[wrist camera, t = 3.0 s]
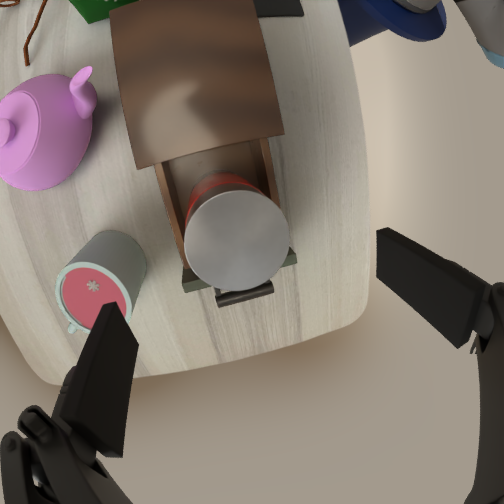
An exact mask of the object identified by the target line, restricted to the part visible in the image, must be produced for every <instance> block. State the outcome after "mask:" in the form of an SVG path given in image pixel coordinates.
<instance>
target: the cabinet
mask: <svg viewBox="0 0 504 504" xmlns="http://www.w3.org/2000/svg"><path fill="white" fill-rule="evenodd" d="M109 15H110V26H111V36H112V44H113V52H114V60H115V66H116V73H117V79H118V85H119V91H120V96H121V101H122V107H123V112H124V116H125V121H126V126H127V130H128V135H129V139H130V143H131V148H132V152H133V156H134V160H135V164H136V167H137V170H139V169H142V168H146V167H149V166H152V165H155V164H158V163H162V162H165V161H168V160H172V159H175V158H179V157H183V156H186V155H190V154H194V153H198V152H202V151H206V150H210V149H214V148H218V147H222V146H227V145H231V144H236V143H241V142H246V141H251V140H256V139H261V138H267V137H272V136H278V135H284V134H285V133H284V128H283V123H282V118H281V113H280V108H279V104H278V99H277V94H276V90H275V85H274V81H273V76H272V72H271V68H270V64H269V59H268V55H267V51H266V47H265V43H264V39H263V35H262V32H261V28H260V24H259V20H258V17H257V13H256V10H255V6H254V3H253V0H140V1H136V2H133V3H130V4H127V5H124V6H121V7H119V8H116V9H113V10H111V11H109Z"/></svg>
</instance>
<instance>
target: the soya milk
mask: <svg viewBox="0 0 504 504" xmlns="http://www.w3.org/2000/svg"><path fill="white" fill-rule="evenodd" d="M69 1H70V2H71V3H72V4H73V5H74V7H75V8H76V9H77V10H78V12H79V13H80V14H81V15H82V16H83V18H84V19H85V20H86V21H87V23H88V24H90V23H93V22H96V21H99V20H103V19H106V18H109V17H110V15H109V11H111V10H113V9H116V8H119V7H121V6H124V5H127V4H130V3H133V2H136V1H139V0H69Z"/></svg>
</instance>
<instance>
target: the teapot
mask: <svg viewBox="0 0 504 504" xmlns="http://www.w3.org/2000/svg"><path fill="white" fill-rule="evenodd" d="M92 71H93V68H92V66H87V67H84V68H83V69H81V70H80V71H79V72H77V73H76V74H75V76H74V77H73V78H70V77H67V76H65V75H60V74H47V75H40V76H37V77H34V78H31V79H29V80H27V81H25V82H23V83H22V84H20V85H19V86H17V87H16V88H14V89H13V90H12V91H11V92H9V93H8V94H7V95H6V96H5V97H4V98H3V99H2V100H1V101H0V177H1V178H2V179H3V180H4V181H5V182H7V183H8V184H10V185H11V186H14V187H16V188H19V189H22V190H27V191H40V190H45V189H48V188H51V187H54V186H56V185H58V184H60V183H61V182H62V181H64V180H65V179H66V178H67V177H69V176H70V175H71V174H72V172H73V171H74V170H75V169H76V167H77V166H78V165H79V163H80V162H81V160H82V158H83V156H84V154H85V152H86V150H87V147H88V144H89V141H90V137H91V132H92V112H93V111H94V109H95V107H96V104H97V94H96V91H95V89H94V87H93V85H92V84H91V83H90V82H88V81H87V80H88V78H89V77H90V75H91V73H92Z"/></svg>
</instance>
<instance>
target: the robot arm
mask: <svg viewBox="0 0 504 504" xmlns="http://www.w3.org/2000/svg"><path fill="white" fill-rule="evenodd" d="M392 1H393V2H394V3H395V4H397V5H398V6H400V7H401V8H403V9H404V10H406V11H408V12H411V13H414V14H424V13H427V12H429V11H430V10H432V9H433V7H434V6H435V5H436V4H437V3H438V2H439V1H440V0H392ZM454 2H455V3H456V5H457V6H458V7H459V9H460V11H461V12H462V14H463V15H464V17H465V19H466V20H467V22H468V24H469V26H470V27H471V29H472V31H473V33H474V35H475V37H476V38H477V39H476V40H477V42H478V44H479V45H480V46H481V48H482V50H483V52H484V54H485V55H486V57H487V59H488V60H489V61H490V62H491V63H493V64H494V65H496V66H498V67H500V68H503V69H504V0H454ZM376 234H377V270H376V277H377V278H378V279H379V280H380V281H382V282H383V283H384V284H385V285H386V286H388V287H389V288H390V289H391V290H392V291H394V292H395V293H396V294H397V295H398V296H399V297H401V298H402V299H403V300H404V301H405V302H406V303H408V304H409V305H410V306H411V307H412V308H413V309H414V310H415V311H417V312H418V313H419V314H420V315H421V316H422V317H424V319H426V320H427V321H428V322H429V323H430V324H431V325H432V326H433V327H434V328H436V329H437V330H438V331H439V332H440V333H441V334H442V335H443V336H444V337H445V338H446V339H447V340H449V341H450V342H451V343H452V344H453V345H454V346H455V347H456V348H457V349H458V348H460V347H461V346H462V345H464V344H465V343H467V342H468V341H469V338H470V336H471V333H472V330H474V331H475V332H476V333H477V334H476V337H475V340H474V342H473V345H472V347H471V350H470V354H472V353H473V350H474V348H475V347H476V353H475V354H477V359H478V369H479V382H480V436H479V449H478V459H477V467H476V474H475V480H474V485H473V488H472V490H471V492H470V493H469V495H468V497H467V498H466V500H465V502H464V504H504V283H502V282H499V283H495V284H493V285H490V284H488V283H487V282H486V281H484V280H483V279H481V278H480V277H478V276H476V275H475V274H473V273H472V272H469V271H468V270H467V269H465V268H463V267H462V266H460V265H459V264H457V263H455V262H453V261H450V260H447V259H444V258H443V257H441V256H439V255H437V254H435V253H434V252H432V251H431V250H429V249H427V248H425V247H424V246H422V245H420V244H418V243H416V242H415V241H413V240H411V239H409V238H407V237H405V236H404V235H402V234H400V233H398V232H396V231H394V230H392V229H390V228H388V227H387V228H383V229H380V230H377V231H376ZM138 347H139V344H138V342H137V340H136V338H135V337H134V335H133V333H132V331H131V329H130V327H129V326H128V324H127V322H126V320H125V318H124V316H123V314H122V312H121V310H120V308H119V306H118V304H117V302H116V301H114V302H110V303H106V304H103V305H102V307H101V310H100V312H99V314H98V316H97V318H96V320H95V322H94V325H93V327H92V329H91V331H90V334H89V336H88V338H87V341H86V343H85V345H84V348H83V350H82V352H81V355H80V357H79V360H78V362H77V365H76V366H73V367H72V368H71V370H70V371H69V372H68V373H67V375H66V377H65V379H64V382H63V387H61V390H60V394H59V396H58V399H57V401H56V404H55V407H54V410H53V413H52V417H51V418H50V417H49V416H48V415H47V414H46V413H45V412H44V411H43V410H42V409H41V408H40V407H39V406H37V405H32V406H30V407H28V408H26V409H25V410H24V411H23V412H22V413H21V415H20V417H19V419H18V429H19V430H20V431H21V432H22V433H24V434H25V435H26V436H27V437H28V438H25V439H24V438H22V437H21V436H20V435H19V434H18V433H17V432H14V431H10V432H8V433H7V434H5V435H4V437H3V439H2V441H1V445H0V458H1V459H0V461H1V474H2V475H1V476H2V486H3V494H4V500H5V504H133V503H132V502H131V501H130V500H129V499H128V497H127V496H126V495H125V494H124V493H123V491H122V490H121V489H120V487H119V486H118V485H117V484H116V482H115V481H114V480H113V478H112V477H111V476H110V474H109V473H108V472H107V470H106V469H105V467H104V466H103V464H102V463H101V462H100V461H99V460H98V459H97V458H96V451H99V452H100V453H101V454H102V455H104V456H105V457H118V458H119V457H120V458H122V457H123V447H124V446H123V445H124V437H125V428H126V419H127V412H128V405H129V398H130V391H131V384H132V379H133V374H134V368H135V363H136V357H137V352H138ZM33 478H34V479H35V480H37V481H38V486H35V485H34V481H33Z"/></svg>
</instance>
